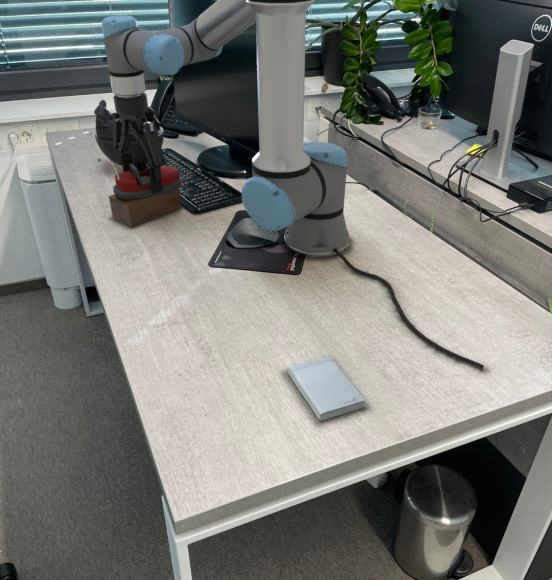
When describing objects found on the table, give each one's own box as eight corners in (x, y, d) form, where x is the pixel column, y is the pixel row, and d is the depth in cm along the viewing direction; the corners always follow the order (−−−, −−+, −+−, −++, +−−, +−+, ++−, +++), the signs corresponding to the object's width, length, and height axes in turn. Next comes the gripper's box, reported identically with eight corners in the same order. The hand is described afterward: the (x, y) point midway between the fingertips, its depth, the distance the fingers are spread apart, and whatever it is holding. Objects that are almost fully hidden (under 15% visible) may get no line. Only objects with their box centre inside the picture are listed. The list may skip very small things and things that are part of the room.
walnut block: (181, 207, 153) (178, 185, 149) (131, 227, 144) (127, 205, 140) (162, 199, 157) (159, 177, 154) (112, 218, 148) (108, 196, 144)
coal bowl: (180, 161, 179) (174, 97, 168) (136, 182, 166) (125, 115, 154) (133, 149, 188) (123, 88, 176) (87, 169, 174) (73, 104, 163)
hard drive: (365, 400, 92) (330, 354, 101) (319, 414, 90) (287, 366, 99) (364, 407, 93) (329, 362, 102) (319, 421, 91) (287, 374, 100)
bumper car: (188, 189, 147) (184, 150, 141) (111, 206, 140) (103, 165, 133) (173, 176, 154) (169, 138, 148) (99, 191, 146) (91, 152, 140)
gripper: (174, 99, 128) (184, 193, 142) (113, 81, 141) (128, 169, 154) (147, 107, 124) (160, 203, 138) (87, 87, 136) (104, 177, 150)
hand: (143, 185), depth 146 cm, fingers closed on bumper car, 11 cm apart
